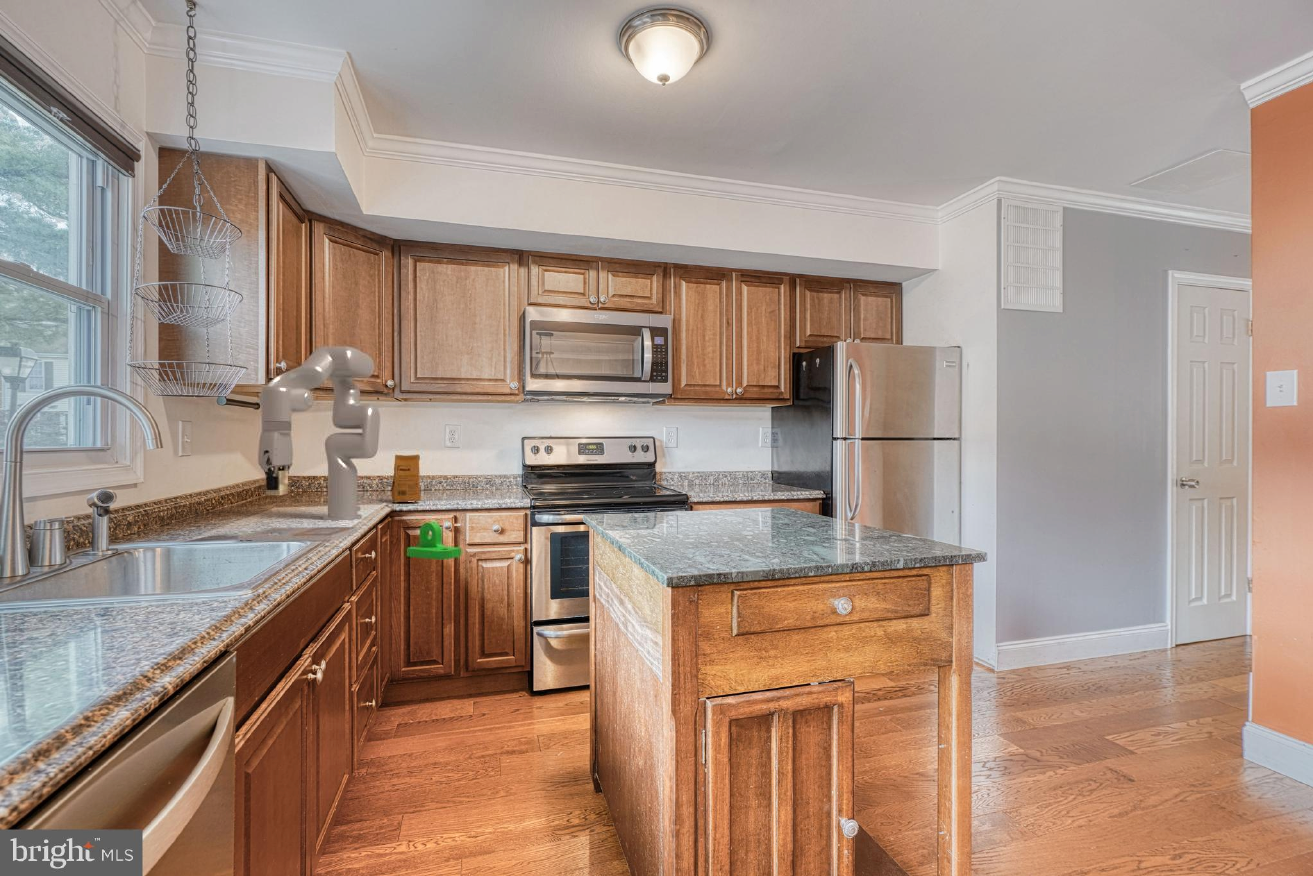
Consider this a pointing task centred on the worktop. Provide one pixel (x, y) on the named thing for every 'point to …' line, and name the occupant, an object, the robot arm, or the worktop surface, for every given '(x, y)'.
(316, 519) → the worktop surface
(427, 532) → the mechanical part
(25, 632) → the worktop surface
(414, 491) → the coffee package
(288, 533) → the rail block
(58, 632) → the worktop surface
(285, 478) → the wooden cube
